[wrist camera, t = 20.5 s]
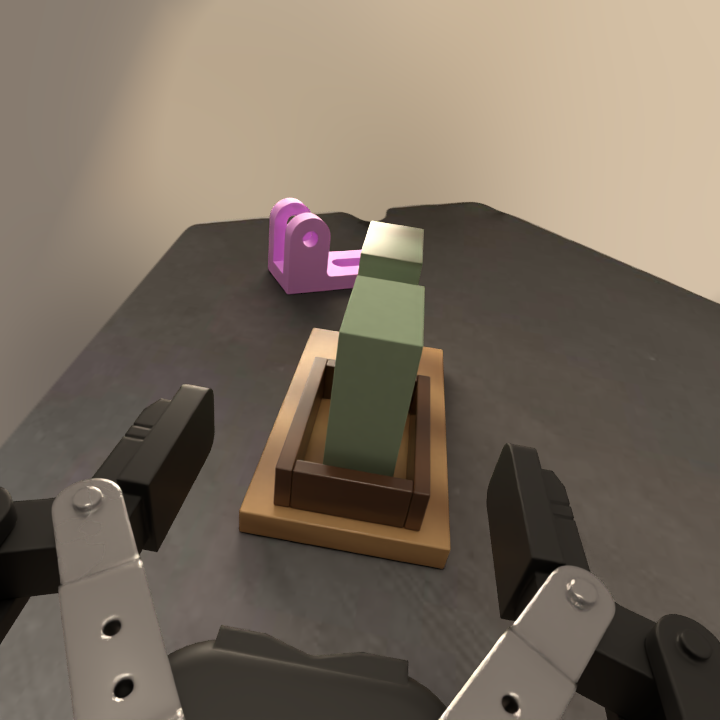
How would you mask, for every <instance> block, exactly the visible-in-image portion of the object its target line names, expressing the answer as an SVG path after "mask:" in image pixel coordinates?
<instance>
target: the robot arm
mask: <svg viewBox="0 0 720 720" xmlns="http://www.w3.org/2000/svg"><path fill="white" fill-rule="evenodd" d="M214 430H215V429H214V394H213V390H212V389H210V388H205V387H199V386H194V385H188V384H183V385H182V386H181V387H180V389H179V390H178V392H177V393H176V394H175V396H174V397H173V399H172V400H171V401H170V400H165V399H160V400H158V401H156V402H155V403H153V404H152V405H150V406H148V407H147V408H145V409H144V410H143V411H142V413H141V414H140V415H139V417H138V418H137V419H136V421H135V422H134V425H133V426H131V427H130V428H129V430H128V431H127V432H126V434H125V437H123V438H122V439H121V440H120V442H119V443H118V444H117V446H116V447H115V448H114V449H113V451H112V452H111V453H110V455H109V456H108V457H107V459H106V460H105V461H104V463H103V464H102V465H101V467H100V468H99V469H98V470H97V472H96V473H95V474H94V476H93V477H92V478H91V479H86V480H82V481H79V482H76V483H74V484H72V485H70V486H69V487H67V488H66V489H64V490H63V491H62V492H61V493H60V494H59V495H58V496H57V497H55V498H49V499H38V500H26V501H12V498H11V495H10V493H9V492H8V491H7V490H6V489H4V488H2V487H0V644H1V642H2V641H3V639H4V638H5V636H6V634H7V633H8V631H9V630H10V628H11V627H12V625H13V623H14V622H15V620H16V619H17V617H18V616H19V614H20V612H21V611H22V609H23V608H24V606H25V605H26V603H27V601H28V600H29V598H30V597H31V596H38V595H46V594H54V593H59V602H60V610H61V619H62V627H63V635H64V643H65V651H66V659H67V668H68V676H69V684H70V692H71V700H72V708H73V717H74V720H560V718H561V717H562V715H563V713H564V711H565V709H566V708H567V706H568V704H569V702H570V700H571V699H572V697H573V695H574V693H575V692H577V693H579V694H581V695H583V696H584V697H586V698H588V699H590V700H592V701H594V702H596V703H597V704H599V705H601V706H603V707H605V710H606V715H607V720H720V642H719V641H718V639H717V638H716V637H715V636H714V635H713V634H712V633H711V632H710V631H709V630H707V629H706V628H705V627H704V626H702V625H701V624H699V623H698V622H696V621H694V620H692V619H690V618H688V617H685V616H682V615H677V614H669V615H665V616H663V617H662V618H661V619H660V620H659V621H658V622H657V623H655V622H653V621H651V620H649V619H647V618H645V617H643V616H641V615H638V614H636V613H634V612H632V611H630V610H628V609H626V608H624V607H622V606H620V605H619V604H617V603H616V602H614V599H613V597H612V595H611V593H610V591H609V590H608V588H607V587H606V586H605V584H604V583H603V582H602V581H601V580H600V579H599V578H597V577H596V576H595V575H593V574H592V573H591V572H590V570H589V566H588V563H587V560H586V556H585V553H584V550H583V546H582V543H581V539H580V536H579V533H578V529H577V526H576V523H575V521H574V520H573V518H574V516H573V513H572V509H571V507H569V504H570V503H569V499H568V496H567V493H566V489H565V487H564V485H563V484H562V483H561V481H560V480H559V479H558V477H557V476H556V475H555V474H554V472H553V471H550V470H545V469H541V465H540V461H539V457H538V453H537V451H536V449H535V448H531V447H526V446H520V445H515V444H509V443H506V444H505V445H504V447H503V449H502V452H501V455H500V457H499V460H498V462H497V465H496V467H495V470H494V472H493V475H492V477H491V480H490V483H489V486H488V491H487V512H488V520H489V528H490V536H491V544H492V553H493V561H494V569H495V577H496V585H497V593H498V602H499V610H500V618H501V619H507V620H512V621H516V622H515V623H514V624H513V626H512V627H509V628H508V629H507V630H506V631H505V632H504V634H503V635H502V636H501V638H500V639H499V640H498V642H497V643H496V644H495V646H494V647H493V648H492V650H491V651H490V652H489V654H488V655H487V656H486V658H485V659H484V660H483V662H482V663H481V664H480V666H479V667H478V668H477V670H476V671H475V672H474V674H473V675H472V676H471V678H470V679H469V680H468V682H467V683H466V684H465V686H464V687H463V688H462V690H461V691H460V692H459V694H458V695H457V696H456V698H455V699H454V700H453V702H452V703H451V704H450V706H449V707H448V708H447V707H446V706H445V705H444V704H443V703H442V702H441V701H440V700H439V699H438V697H437V696H436V695H434V694H433V693H432V692H431V691H430V690H429V689H427V688H426V687H425V686H423V685H422V684H420V683H419V682H417V681H416V680H414V679H412V678H410V677H408V661H407V660H401V659H396V658H391V657H386V656H381V655H375V654H370V653H365V652H356V653H343V654H331V655H319V656H313V655H309V654H307V653H305V652H303V651H301V650H298V649H296V648H294V647H292V646H290V645H288V644H286V643H284V642H282V641H280V640H278V639H276V638H274V637H272V636H270V635H268V634H265V633H260V632H255V631H250V630H244V629H239V628H234V627H229V626H224V625H221V627H220V629H219V632H218V635H217V638H216V640H208V641H203V642H198V643H195V644H192V645H189V646H186V647H183V648H181V649H179V650H177V651H175V652H173V653H171V654H169V655H167V652H166V648H165V644H164V640H163V637H162V633H161V629H160V625H159V622H158V618H157V614H156V611H155V607H154V603H153V599H152V596H151V592H150V588H149V585H148V581H147V577H146V573H145V570H144V566H143V563H142V559H141V557H139V555H140V553H141V551H142V549H143V550H149V551H154V552H158V550H159V548H160V546H161V544H162V542H163V540H164V539H165V537H166V535H167V533H168V531H169V529H170V527H171V525H172V523H173V521H174V520H175V518H176V516H177V514H178V512H179V510H180V508H181V506H182V504H183V502H184V501H185V499H186V497H187V495H188V493H189V491H190V489H191V487H192V485H193V483H194V481H195V480H196V478H197V476H198V474H199V472H200V470H201V468H202V466H203V464H204V462H205V461H206V459H207V457H208V455H209V453H210V450H211V447H212V444H213V440H214Z"/></svg>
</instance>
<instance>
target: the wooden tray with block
mask: <svg viewBox="0 0 720 720" xmlns="http://www.w3.org/2000/svg"><path fill="white" fill-rule="evenodd" d="M423 235H424V230H423V229H418V228H412V227H406V226H400V225H394V224H388V223H382V222H376V221H371V223H370V226H369V229H368V232H367V235H366V238H365V242H364V245H363V248H362V251H361V255H360V262H359V269H358V275H359V276H365V277H371V278H377V279H383V280H389V281H394V282H400V283H406V284H412V285H418V283H419V278H420V273H421V269H422V264H423ZM338 337H339V332H336V331H330V330H324V329H319V328H313V329H312V332H311V334H310V337H309V339H308V342H307V344H306V347H305V349H304V352H303V354H302V357H301V359H300V362H299V364H298V367H297V369H296V371H295V374H294V376H293V379H292V381H291V384H290V386H289V389H288V391H287V394H286V396H285V399H284V401H283V404H282V406H281V409H280V411H279V414H278V416H277V419H276V421H275V424H274V426H273V428H272V431H271V433H270V436H269V438H268V441H267V443H266V446H265V448H264V451H263V453H262V456H261V458H260V461H259V463H258V466H257V468H256V471H255V473H254V476H253V478H252V481H251V483H250V485H249V488H248V490H247V493H246V495H245V498H244V500H243V503H242V505H241V508H240V510H239V531H241V532H246V533H251V534H256V535H262V536H267V537H273V538H278V539H284V540H289V541H294V542H300V543H305V544H311V545H316V546H321V547H327V548H332V549H338V550H343V551H349V552H354V553H359V554H365V555H370V556H376V557H381V558H386V559H392V560H397V561H403V562H408V563H414V564H419V565H424V566H430V567H435V568H441V569H443V568H444V566H445V563H446V561H447V558H448V555H449V552H450V526H449V501H448V475H447V450H446V424H445V398H444V373H443V350H440V349H434V348H429V347H423V350H422V355H421V359H420V363H419V367H418V372H417V376H416V380H415V385H414V389H413V393H412V397H411V402H410V406H409V410H408V415H407V419H406V423H405V427H404V432H403V436H402V440H401V445H400V449H399V453H398V457H397V462H396V466H395V470H394V475H393V477H391V476H385V475H380V474H374V473H368V472H363V471H357V470H352V469H346V468H341V467H335V466H330V465H324V464H323V457H324V449H325V441H326V433H327V425H328V417H329V409H330V401H331V393H332V385H333V377H334V369H335V361H336V353H337V345H338Z"/></svg>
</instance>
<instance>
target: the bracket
mask: <svg viewBox="0 0 720 720" xmlns="http://www.w3.org/2000/svg"><path fill="white" fill-rule="evenodd" d="M292 215H296V216H295V217H294V218H293V219H292V220H291V221H290V222H289V223H288V225H287V220H288V218H289V217H290V216H292ZM311 235H312V236H311ZM329 247H330V230H329V228H328V226H327V225H326V223H325V222H323V221H322V220H321V219H320V218H319V217H318V216H316V215H314V214H312V213H311V212H310V210H309V209H308V208H307V207H306V206H305V205H304V204H303V203H302V202H301V201H299V200H297V199H295V198H285V199H283V200H280V201H279V202H278V203H276V204H275V206H274V207H273V208H272V210H271V213H270V226H269V256H268V270H269V271H270V272H271V274H272V275H273V276H274V277H275V279H276V280H277V281H278V283H279V284H280V285H281V287H282V288H283V289H284V290H285V292H286V293H287V294H296V293H306V292H316V291H327V290H337V289H347V288H353V287H354V283H355V280H356V277H357V275H358V269H359V262H360V255H361V251H362V250H353V251H336V252H329Z"/></svg>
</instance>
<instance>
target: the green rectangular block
mask: <svg viewBox="0 0 720 720" xmlns="http://www.w3.org/2000/svg"><path fill="white" fill-rule="evenodd" d="M424 301H425V287H424V286H418V285H412V284H406V283H400V282H394V281H389V280H383V279H377V278H371V277H365V276H359V275H357V277H356V280H355V283H354V287H353V290H352V293H351V296H350V299H349V302H348V306H347V309H346V312H345V315H344V318H343V322H342V325H341V328H340V331H339V337H338V345H337V353H336V361H335V369H334V377H333V385H332V393H331V401H330V409H329V417H328V425H327V433H326V441H325V449H324V457H323V464H324V465H330V466H335V467H341V468H346V469H352V470H357V471H363V472H368V473H374V474H380V475H385V476H391V477H393V475H394V470H395V466H396V462H397V457H398V453H399V449H400V445H401V440H402V436H403V432H404V427H405V423H406V419H407V415H408V410H409V406H410V402H411V397H412V393H413V389H414V385H415V380H416V376H417V372H418V367H419V363H420V359H421V355H422V350H423V337H424Z"/></svg>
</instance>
